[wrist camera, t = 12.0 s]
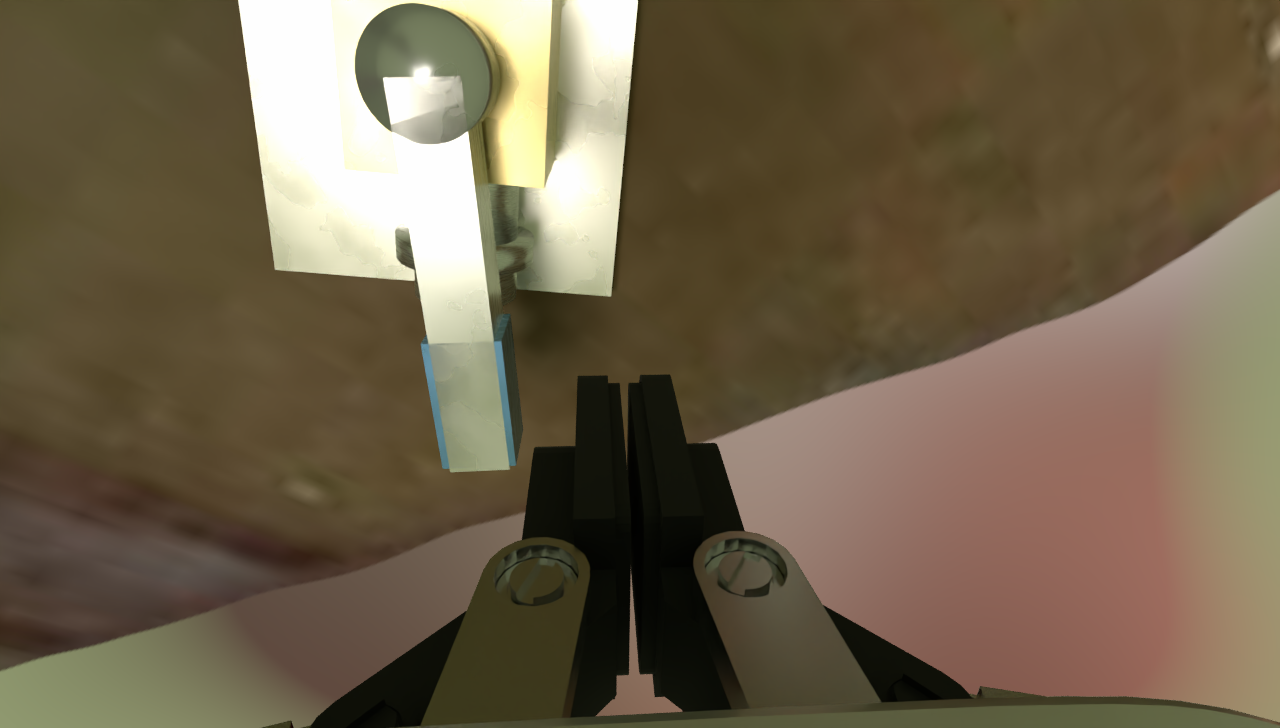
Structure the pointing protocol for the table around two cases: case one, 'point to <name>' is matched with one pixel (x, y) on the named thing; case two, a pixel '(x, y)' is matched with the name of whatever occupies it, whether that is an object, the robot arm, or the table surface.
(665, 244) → the table surface
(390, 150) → the valve
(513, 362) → the lever
